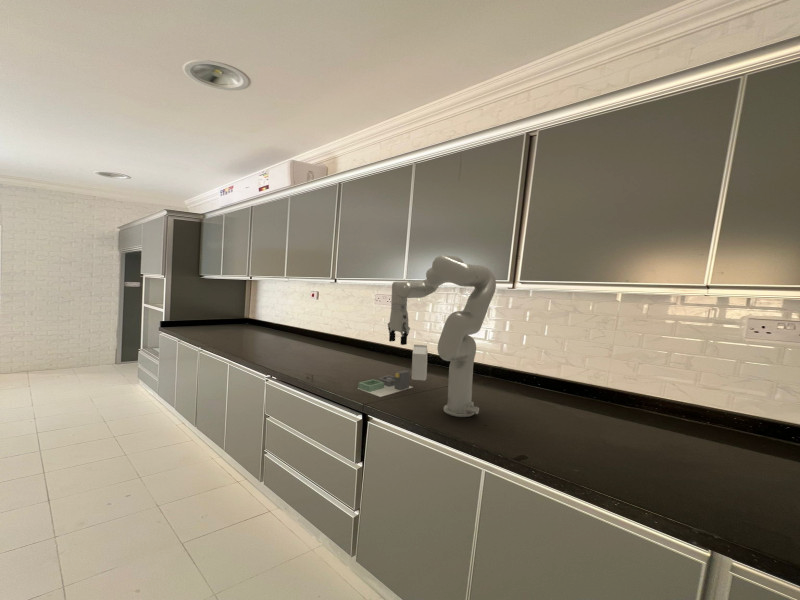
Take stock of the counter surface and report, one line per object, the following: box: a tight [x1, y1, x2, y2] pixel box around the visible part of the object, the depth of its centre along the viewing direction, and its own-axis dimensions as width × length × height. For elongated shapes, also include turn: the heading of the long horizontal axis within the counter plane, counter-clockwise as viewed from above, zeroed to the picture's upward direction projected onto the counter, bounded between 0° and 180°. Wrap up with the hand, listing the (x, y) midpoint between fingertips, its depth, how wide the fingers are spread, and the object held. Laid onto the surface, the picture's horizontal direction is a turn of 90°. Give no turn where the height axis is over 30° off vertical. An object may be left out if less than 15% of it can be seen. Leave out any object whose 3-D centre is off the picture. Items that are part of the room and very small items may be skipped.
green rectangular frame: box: [358, 378, 384, 393], centre depth 166 cm, size 8×10×3 cm
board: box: [357, 374, 413, 398], centre depth 167 cm, size 16×22×4 cm
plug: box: [394, 369, 411, 391], centre depth 167 cm, size 4×7×8 cm, turn 137°
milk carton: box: [411, 344, 429, 382], centre depth 186 cm, size 7×7×19 cm
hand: (397, 342), depth 168 cm, fingers open, 9 cm apart
